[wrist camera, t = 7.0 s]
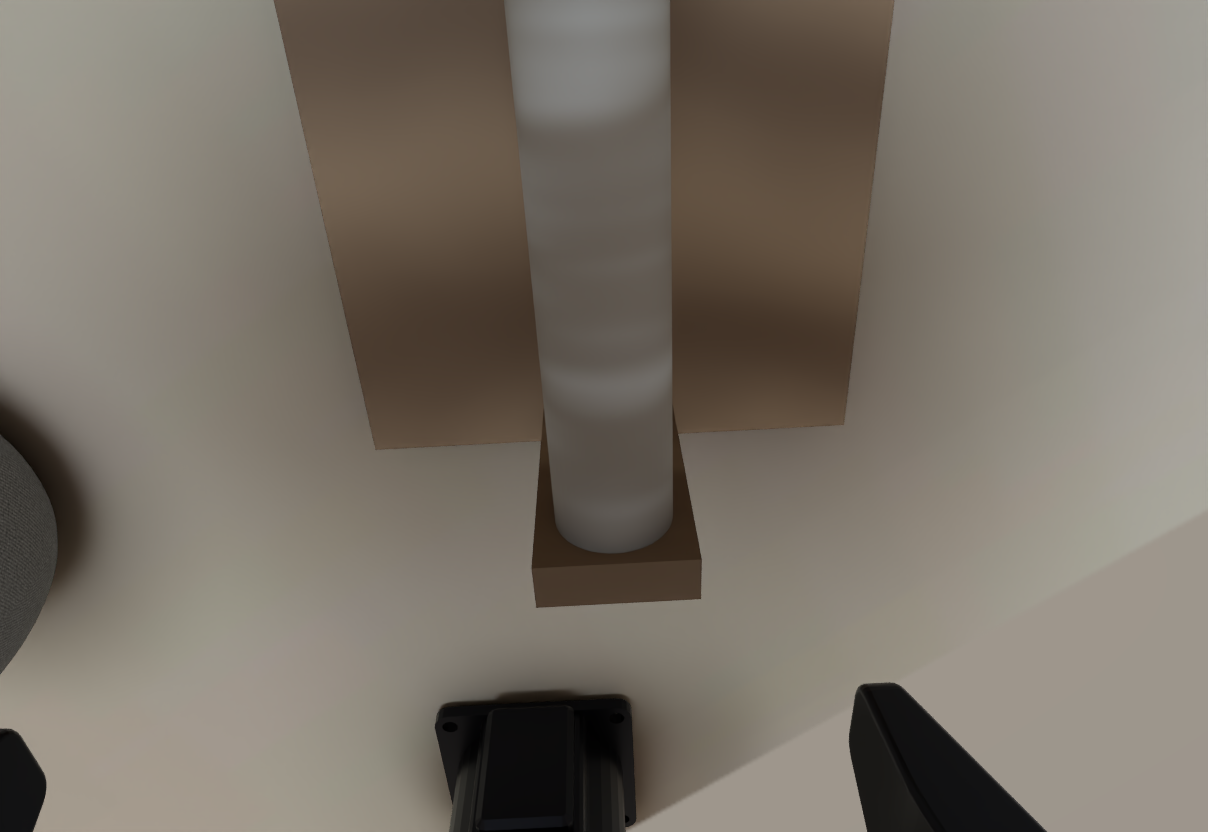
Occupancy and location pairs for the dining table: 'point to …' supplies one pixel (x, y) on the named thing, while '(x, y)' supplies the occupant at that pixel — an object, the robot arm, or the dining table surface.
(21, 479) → the smart speaker
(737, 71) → the pipe stand
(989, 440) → the dining table surface
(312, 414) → the dining table surface
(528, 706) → the robot arm
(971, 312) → the dining table surface
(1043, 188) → the dining table surface
